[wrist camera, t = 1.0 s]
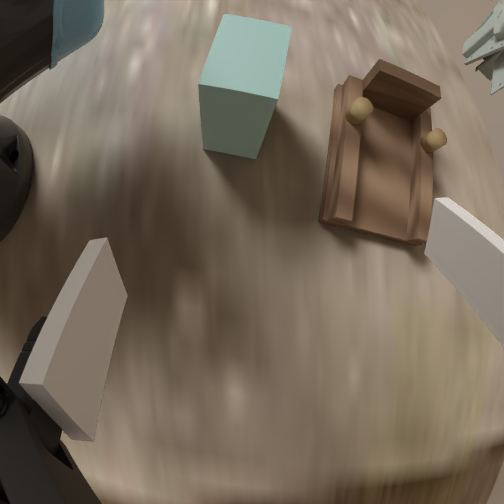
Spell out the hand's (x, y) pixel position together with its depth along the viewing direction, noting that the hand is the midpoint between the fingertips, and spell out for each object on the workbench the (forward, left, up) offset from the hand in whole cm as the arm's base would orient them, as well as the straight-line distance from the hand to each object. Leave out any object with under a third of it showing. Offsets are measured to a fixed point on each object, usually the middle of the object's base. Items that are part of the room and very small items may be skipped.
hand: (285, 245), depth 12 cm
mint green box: (-8, +11, -16) cm, 21 cm away
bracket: (+15, +47, -17) cm, 52 cm away
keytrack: (+6, +16, -16) cm, 23 cm away
